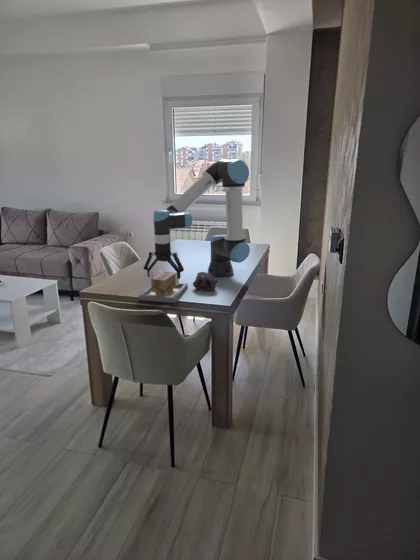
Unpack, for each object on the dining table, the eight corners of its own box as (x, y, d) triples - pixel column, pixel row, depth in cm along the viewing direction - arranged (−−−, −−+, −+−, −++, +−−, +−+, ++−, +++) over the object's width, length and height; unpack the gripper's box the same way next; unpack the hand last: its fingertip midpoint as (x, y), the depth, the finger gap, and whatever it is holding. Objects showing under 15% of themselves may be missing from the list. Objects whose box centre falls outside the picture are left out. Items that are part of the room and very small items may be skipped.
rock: (212, 295, 193) (218, 288, 202) (214, 280, 190) (220, 274, 199) (190, 289, 196) (197, 283, 205) (192, 274, 193) (199, 268, 202)
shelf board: (176, 284, 196) (176, 272, 194) (164, 293, 184) (164, 280, 182) (164, 283, 198) (163, 271, 196) (151, 291, 186) (151, 279, 184)
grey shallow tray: (187, 288, 200) (187, 282, 199) (175, 302, 180) (175, 296, 179) (155, 285, 204) (155, 280, 203) (139, 300, 183) (139, 294, 182)
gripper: (189, 241, 185) (190, 283, 191) (141, 239, 190) (143, 280, 196) (185, 245, 178) (186, 288, 184) (135, 242, 183) (138, 284, 189)
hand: (164, 284), depth 190 cm, fingers open, 13 cm apart
